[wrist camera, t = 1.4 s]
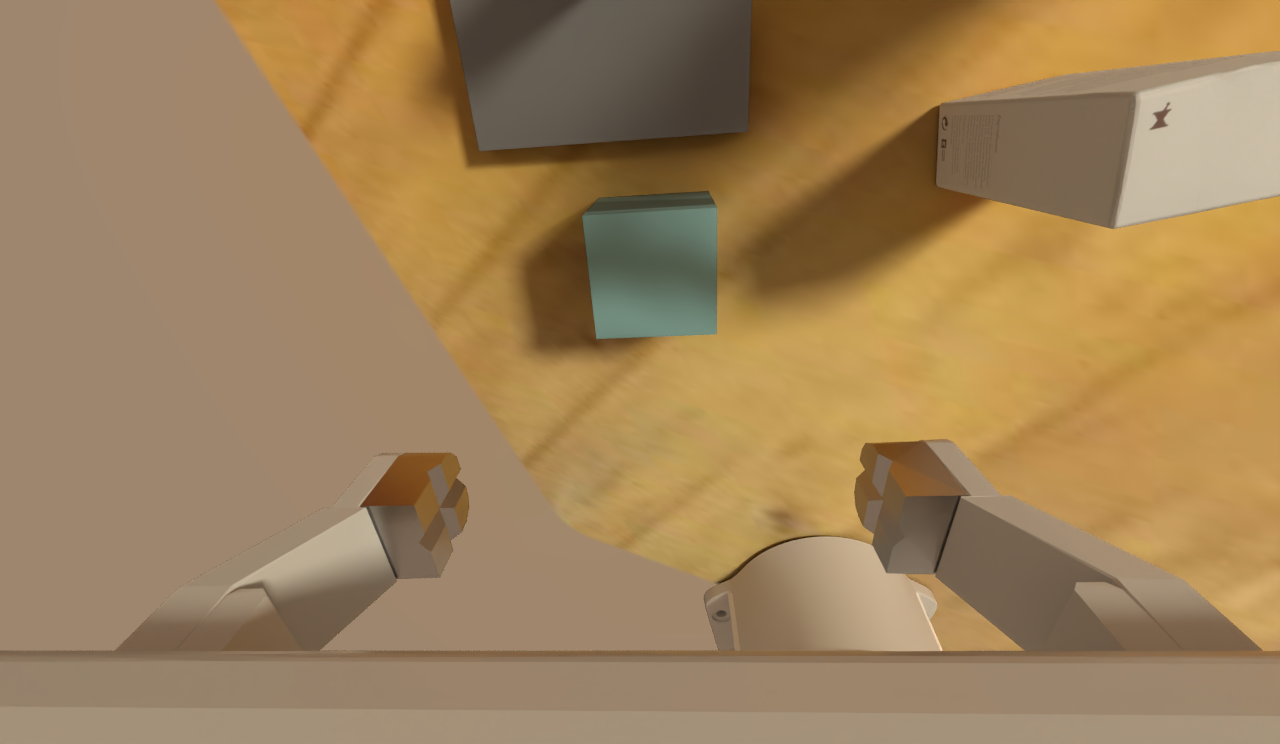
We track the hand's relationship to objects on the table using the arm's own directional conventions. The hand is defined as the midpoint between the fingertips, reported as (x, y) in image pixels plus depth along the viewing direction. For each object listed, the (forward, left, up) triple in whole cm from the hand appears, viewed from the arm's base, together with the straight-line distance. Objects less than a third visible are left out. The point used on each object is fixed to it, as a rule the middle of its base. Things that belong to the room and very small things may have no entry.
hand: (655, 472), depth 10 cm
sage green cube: (0, +1, -21) cm, 21 cm away
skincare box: (+5, -17, -22) cm, 28 cm away
